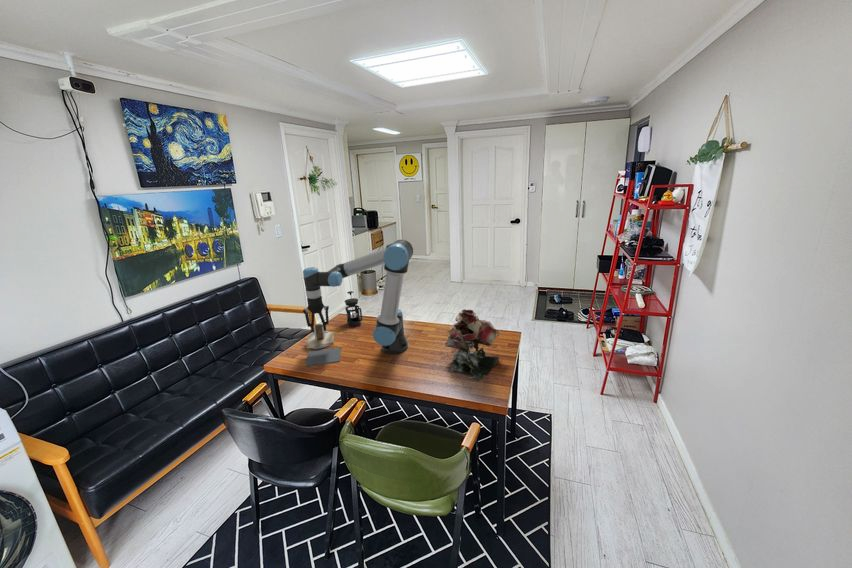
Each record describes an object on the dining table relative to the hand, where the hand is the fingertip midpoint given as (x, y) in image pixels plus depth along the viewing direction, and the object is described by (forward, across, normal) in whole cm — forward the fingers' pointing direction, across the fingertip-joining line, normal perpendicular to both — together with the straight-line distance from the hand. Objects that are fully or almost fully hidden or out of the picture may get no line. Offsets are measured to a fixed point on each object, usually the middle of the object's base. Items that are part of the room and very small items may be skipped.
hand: (320, 336), depth 194 cm
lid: (+3, 0, 0) cm, 3 cm away
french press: (+13, -18, -41) cm, 47 cm away
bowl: (+13, +3, -17) cm, 21 cm away
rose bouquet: (+12, -76, +30) cm, 82 cm away
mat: (+13, 0, 0) cm, 13 cm away
